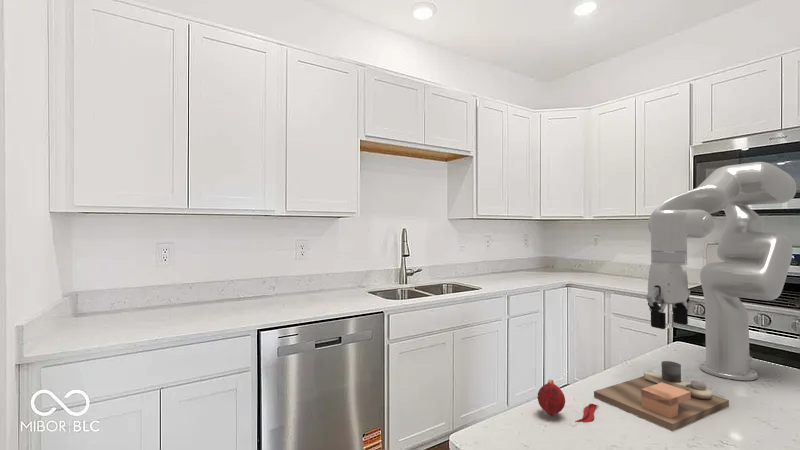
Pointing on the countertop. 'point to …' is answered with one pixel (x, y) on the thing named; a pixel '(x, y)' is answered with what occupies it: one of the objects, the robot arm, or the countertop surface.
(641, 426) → the countertop surface
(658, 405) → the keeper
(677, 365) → the link
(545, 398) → the red rounded oval piece
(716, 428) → the countertop surface
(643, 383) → the board
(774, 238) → the robot arm
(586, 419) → the cayenne pepper
